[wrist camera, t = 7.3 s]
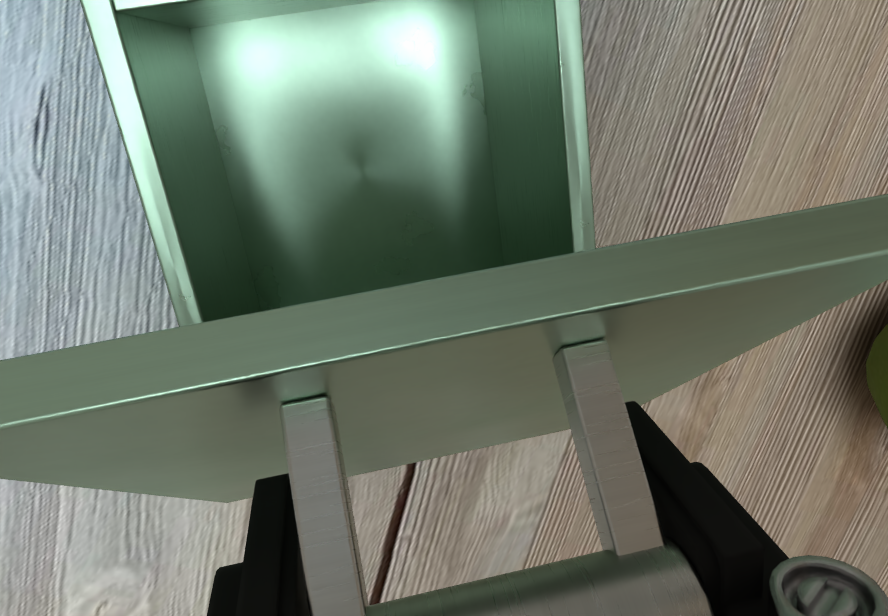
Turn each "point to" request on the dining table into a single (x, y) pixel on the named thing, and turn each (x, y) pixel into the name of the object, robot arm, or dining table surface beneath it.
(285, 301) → the trash can
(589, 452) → the bin lid
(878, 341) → the apple
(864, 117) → the dining table surface
